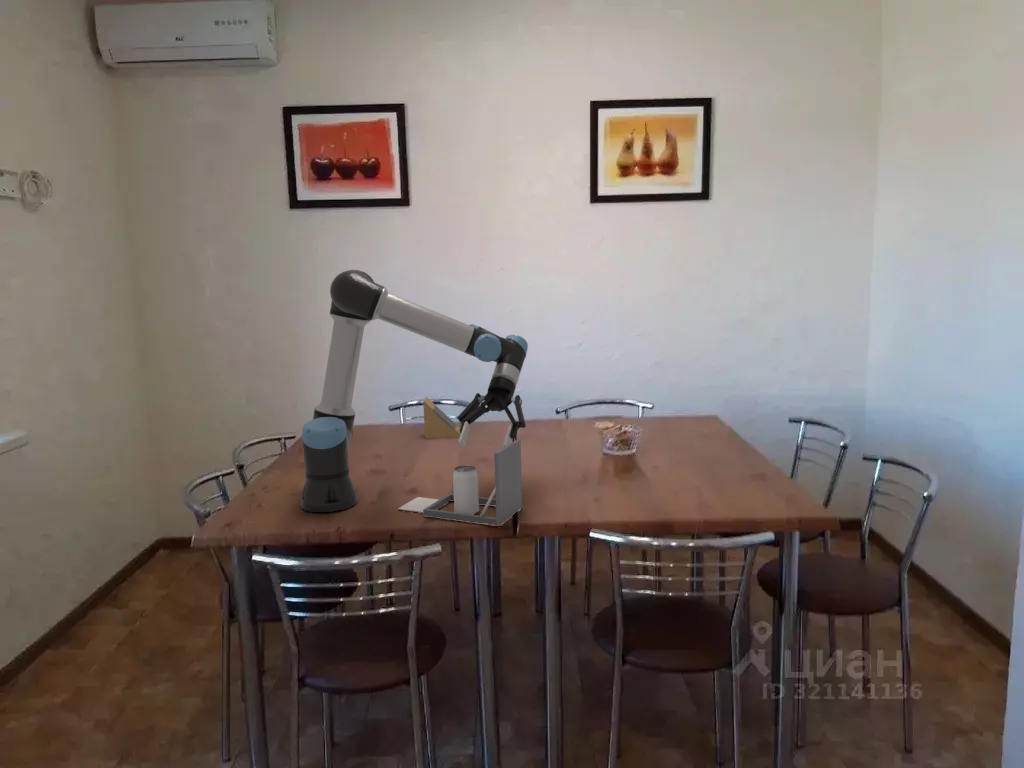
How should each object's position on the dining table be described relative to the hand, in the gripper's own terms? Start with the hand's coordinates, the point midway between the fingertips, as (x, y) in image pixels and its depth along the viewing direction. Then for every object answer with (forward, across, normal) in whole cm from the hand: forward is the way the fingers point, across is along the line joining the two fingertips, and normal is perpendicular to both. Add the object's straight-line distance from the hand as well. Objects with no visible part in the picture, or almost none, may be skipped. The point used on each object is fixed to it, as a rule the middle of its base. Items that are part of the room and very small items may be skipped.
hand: (483, 445), depth 195 cm
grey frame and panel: (+18, -2, -3) cm, 19 cm away
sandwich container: (-33, +47, -55) cm, 79 cm away
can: (+19, 0, -3) cm, 19 cm away
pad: (+18, +14, -3) cm, 23 cm away
